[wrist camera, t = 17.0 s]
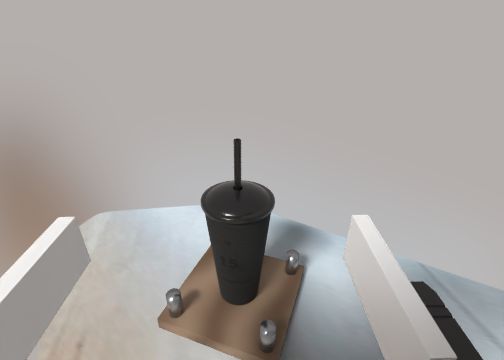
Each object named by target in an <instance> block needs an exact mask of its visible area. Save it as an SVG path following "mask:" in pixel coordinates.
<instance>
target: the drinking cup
mask: <svg viewBox="0 0 504 360" xmlns="http://www.w3.org/2000/svg"><path fill="white" fill-rule="evenodd" d="M274 205H275V198H274V195H273V193H272V192H271V191H270V190H269V189H268V188H266V187H265V186H263V185H261V184H258V183H255V182H250V181H242V180H241V140H240V139H234V181H226V182H222V183H219V184H216V185H214V186H212V187H210V188H209V189H207V190H206V191H205V192H204V193H203V195H202V197H201V207H202V210H203V211H204V213H205V215H206V221H207V226H208V231H209V236H210V242H211V247H212V252H213V257H214V262H215V268H216V273H217V278H218V283H219V289H220V294H221V296H222V298H223V299H224V300H225V301H226V302H228V303H230V304H232V305H245V304H248V303H250V302H251V301H253V300H254V299H255V297H256V296H257V293H258V289H259V282H260V276H261V270H262V264H263V258H264V252H265V245H266V239H267V233H268V227H269V221H270V215H271V211H272V210H273V208H274Z"/></svg>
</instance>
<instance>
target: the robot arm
mask: <svg viewBox="0 0 504 360" xmlns="http://www.w3.org/2000/svg"><path fill="white" fill-rule="evenodd" d="M343 259H344V262H345V264H346V266H347V269H348V271H349V274H350V276H351V279H352V281H353V284H354V286H355V289H356V291H357V293H358V296H359V298H360V301H361V303H362V306H363V308H364V311H365V313H366V315H367V318H368V320H369V323H370V325H371V328H372V330H373V333H374V335H375V337H376V340H377V342H378V345H379V347H380V350H381V352H382V355H383V357H384V360H483V359H482V358H481V356H480V355H479V353H478V352H477V350H476V349H475V348H474V346H473V345H472V343H471V342H470V340H469V339H468V337H467V336H466V335H465V333H464V332H463V330H462V329H461V327H460V326H459V325H458V323H457V322H456V320H455V319H453V318H452V315H451V313H450V312H449V310H448V309H447V308H445V305H444V303H443V302H442V300H441V299H440V297H439V296H438V295H437V293H436V292H435V291H434V290H433V289H431V288H430V287H429V286H428V285H427V284H425V283H424V282H410V281H409V280H408V278H407V276H406V275H405V273H404V272H403V270H402V268H401V267H400V265H399V264H398V262H397V260H396V259H395V257H394V256H393V254H392V252H391V251H390V249H389V248H388V246H387V244H386V243H385V241H384V240H383V238H382V237H381V235H380V233H379V232H378V230H377V229H376V227H375V225H374V224H373V222H372V221H371V219H370V217H369V216H368V215H352V218H351V223H350V227H349V232H348V237H347V241H346V246H345V251H344V255H343ZM90 261H91V259H90V256H89V254H88V251H87V248H86V246H85V243H84V240H83V237H82V235H81V232H80V229H79V226H78V224H77V221H76V218H75V217H58V218H57V220H56V221H54V223H53V224H52V225H51V226H50V227H49V228H48V229H47V230H46V231H45V232H44V233H43V234H42V235H41V236H40V237H39V238H38V240H36V241H35V243H33V245H32V246H31V247H30V248H29V249H28V250H27V251H26V252H25V253H24V254H23V255H22V256H21V257H20V258H19V259H18V260H17V261H16V262H15V263H14V264H13V266H12V267H11V268H10V269H9V270H8V271H7V272H6V273H5V274H4V275H3V276H2V277H1V278H0V360H27V358H28V356H29V355H30V353H31V352H32V350H33V349H34V347H35V345H36V344H37V343H38V341H39V339H40V338H41V336H42V335H43V333H44V332H45V330H46V329H47V327H48V326H49V324H50V323H51V321H52V319H53V318H54V316H55V315H56V313H57V312H58V310H59V309H60V307H61V306H62V304H63V302H64V301H65V299H66V298H67V296H68V295H69V293H70V292H71V290H72V289H73V287H74V286H75V284H76V282H77V281H78V279H79V278H80V276H81V275H82V273H83V272H84V270H85V269H86V267H87V265H88V264H89V262H90Z"/></svg>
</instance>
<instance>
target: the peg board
mask: <svg viewBox="0 0 504 360" xmlns="http://www.w3.org/2000/svg"><path fill="white" fill-rule="evenodd" d="M298 259H299V253H298V252H297V251H295V250H289V251H288V252H287V256H286V261H283V260H280V259H276V258H272V257H269V256H265V255H264V258H263V264H262V270H261V276H260V282H259V289H258V293H257V296H256V297H255V299H254V300H253V301H251V302H250V303H248V304H245V305H232V304H230V303H228V302H226V301H225V300H224V299H223V298H222V296H221V294H220V289H219V283H218V278H217V273H216V268H215V262H214V257H213V252H212V247H211V246H210V247H209V249H208V250H207V251H206V253H205V254H204V255H203V257H202V258H201V260H200V261H199V262H198V264H197V265H196V266H195V268H194V269H193V271H192V272H191V273H190V275H189V276H188V277H187V279H186V280H185V282H184V283H183V284H182V286H181V287H180V288H179V289H175V288H174V289H171V290H169V291H168V292H167V293H166V300H167V306H166V308H165V309H164V310H163V312H162V313H161V315H160V316H159V317H158V324H159V327H160V328H163V329H165V330H168V331H170V332H173V333H175V334H178V335H181V336H183V337H186V338H188V339H191V340H193V341H196V342H198V343H201V344H203V345H206V346H209V347H211V348H214V349H216V350H219V351H221V352H224V353H226V354H229V355H231V356H234V357H237V358H239V359H242V360H279V359H280V355H281V352H282V348H283V344H284V341H285V337H286V334H287V330H288V326H289V323H290V319H291V315H292V312H293V308H294V304H295V301H296V297H297V293H298V290H299V286H300V282H301V279H302V275H303V269H304V266H302V265H298Z"/></svg>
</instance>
